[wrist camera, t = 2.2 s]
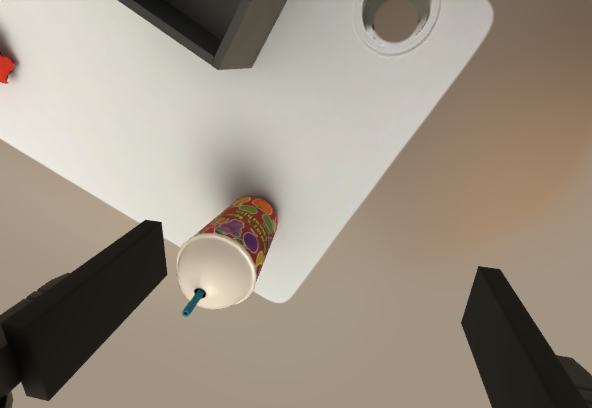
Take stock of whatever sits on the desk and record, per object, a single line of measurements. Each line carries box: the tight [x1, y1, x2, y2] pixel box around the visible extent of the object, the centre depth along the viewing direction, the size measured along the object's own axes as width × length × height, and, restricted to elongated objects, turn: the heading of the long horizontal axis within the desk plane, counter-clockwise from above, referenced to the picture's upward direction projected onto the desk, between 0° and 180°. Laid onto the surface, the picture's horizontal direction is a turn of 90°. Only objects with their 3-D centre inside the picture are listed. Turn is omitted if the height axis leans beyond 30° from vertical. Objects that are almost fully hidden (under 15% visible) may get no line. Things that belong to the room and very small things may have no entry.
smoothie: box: [177, 196, 278, 317], centre depth 38 cm, size 8×8×20 cm
